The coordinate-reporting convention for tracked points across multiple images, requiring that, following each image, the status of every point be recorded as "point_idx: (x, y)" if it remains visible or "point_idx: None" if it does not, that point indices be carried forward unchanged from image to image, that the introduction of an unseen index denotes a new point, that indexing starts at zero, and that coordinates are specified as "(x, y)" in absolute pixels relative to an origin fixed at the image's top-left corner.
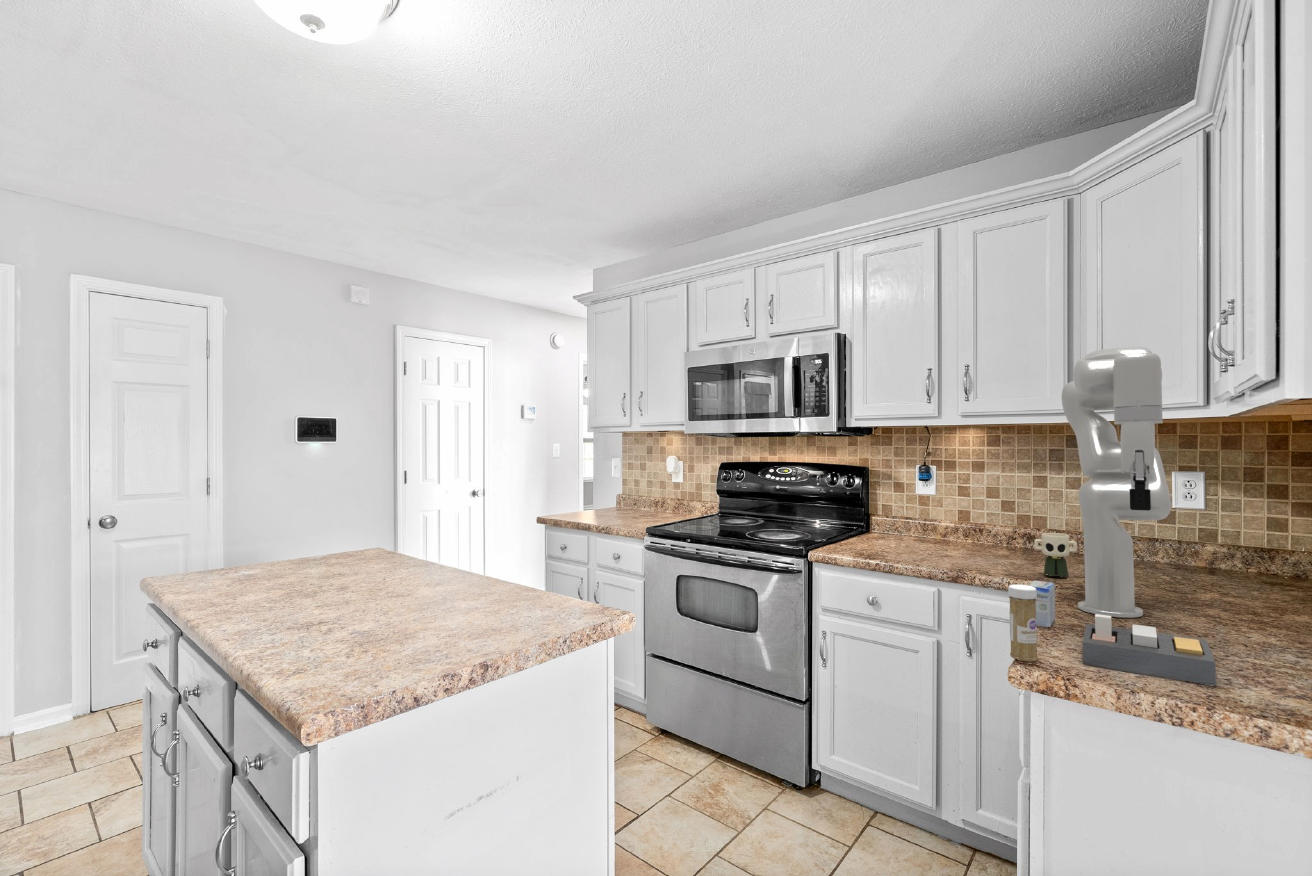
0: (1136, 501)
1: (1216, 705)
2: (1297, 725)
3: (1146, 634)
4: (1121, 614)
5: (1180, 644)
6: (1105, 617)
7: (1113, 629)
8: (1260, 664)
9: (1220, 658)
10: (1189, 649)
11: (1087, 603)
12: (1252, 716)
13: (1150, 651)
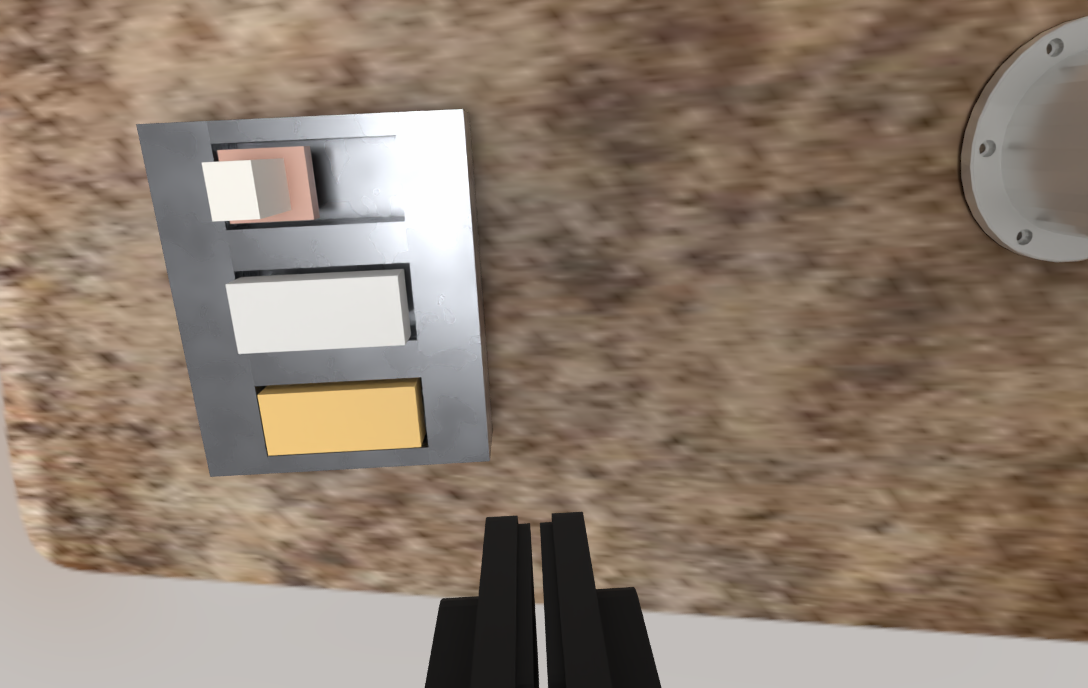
0: (436, 635)
1: (68, 441)
2: (62, 565)
3: (263, 323)
4: (971, 193)
5: (311, 404)
6: (210, 201)
7: (427, 206)
8: None
9: (552, 459)
10: (264, 425)
11: (1075, 56)
12: (48, 499)
13: (189, 327)
